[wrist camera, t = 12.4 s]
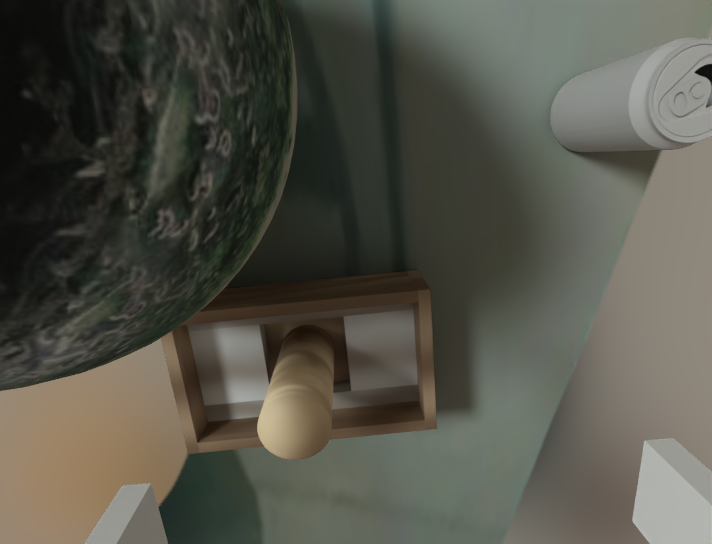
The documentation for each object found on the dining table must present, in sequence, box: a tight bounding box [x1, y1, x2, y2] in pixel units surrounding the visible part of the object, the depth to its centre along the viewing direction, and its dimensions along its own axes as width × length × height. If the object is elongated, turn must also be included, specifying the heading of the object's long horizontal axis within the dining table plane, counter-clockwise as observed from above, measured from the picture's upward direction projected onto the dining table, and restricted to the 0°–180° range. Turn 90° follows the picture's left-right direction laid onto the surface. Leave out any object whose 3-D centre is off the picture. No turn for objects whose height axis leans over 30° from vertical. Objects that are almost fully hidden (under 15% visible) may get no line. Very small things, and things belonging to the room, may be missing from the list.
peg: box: [257, 325, 335, 460], centre depth 33 cm, size 5×5×12 cm
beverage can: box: [550, 38, 712, 152], centre depth 29 cm, size 6×6×12 cm
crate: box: [161, 270, 437, 454], centre depth 37 cm, size 13×22×6 cm, turn 95°
